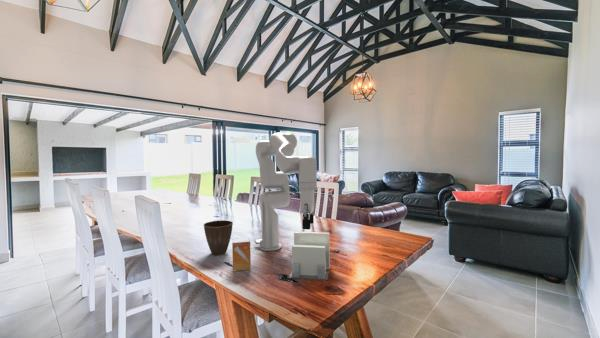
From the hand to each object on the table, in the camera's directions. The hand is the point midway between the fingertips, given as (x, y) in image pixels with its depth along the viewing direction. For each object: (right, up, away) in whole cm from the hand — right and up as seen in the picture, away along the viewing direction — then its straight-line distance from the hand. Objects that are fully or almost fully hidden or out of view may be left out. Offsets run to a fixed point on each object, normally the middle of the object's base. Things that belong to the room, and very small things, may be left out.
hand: (308, 226), depth 119 cm
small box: (-30, -22, +10) cm, 39 cm away
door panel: (0, -21, +1) cm, 21 cm away
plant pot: (-47, -21, +32) cm, 60 cm away
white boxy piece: (+1, -21, +4) cm, 21 cm away
